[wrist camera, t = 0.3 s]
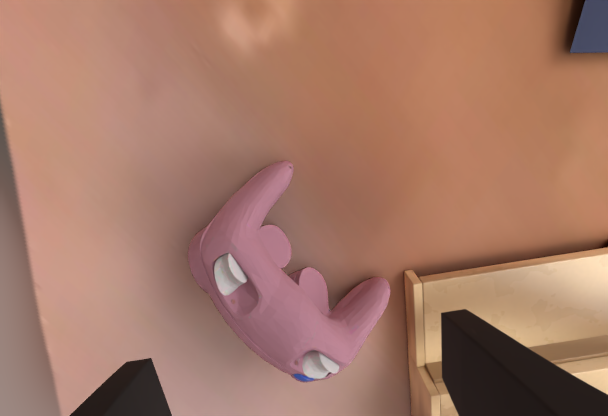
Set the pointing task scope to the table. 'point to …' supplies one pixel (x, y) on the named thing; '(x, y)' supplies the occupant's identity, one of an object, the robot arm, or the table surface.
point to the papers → (592, 28)
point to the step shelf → (513, 317)
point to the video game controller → (279, 287)
